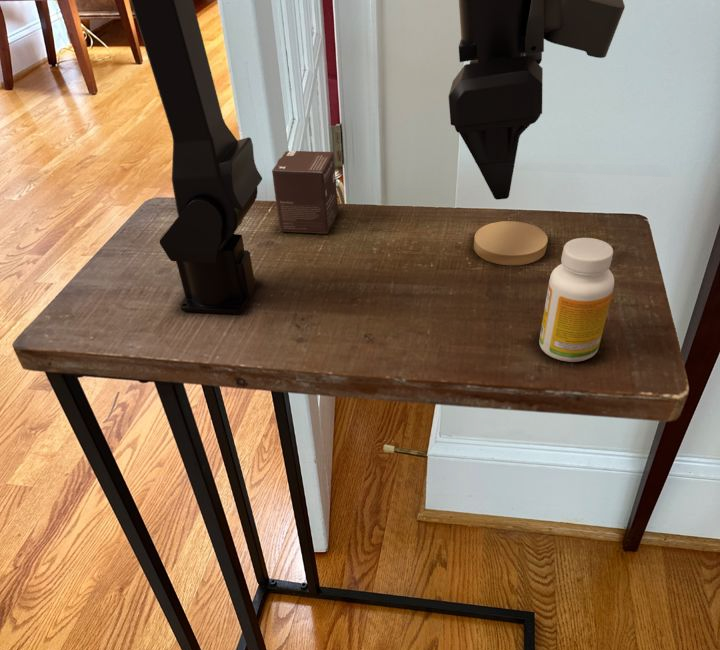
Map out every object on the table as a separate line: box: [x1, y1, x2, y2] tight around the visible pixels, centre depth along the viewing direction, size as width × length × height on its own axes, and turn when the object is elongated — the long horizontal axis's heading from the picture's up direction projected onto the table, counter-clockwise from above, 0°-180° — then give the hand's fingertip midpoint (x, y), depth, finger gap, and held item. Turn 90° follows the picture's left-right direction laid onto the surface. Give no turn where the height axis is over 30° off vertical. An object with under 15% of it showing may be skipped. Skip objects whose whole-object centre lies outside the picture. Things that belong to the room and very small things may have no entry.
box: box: [271, 150, 339, 235], centre depth 81 cm, size 6×6×7 cm
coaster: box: [473, 220, 549, 266], centre depth 76 cm, size 8×8×1 cm
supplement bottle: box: [538, 237, 615, 363], centre depth 60 cm, size 5×5×10 cm
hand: (504, 174), depth 58 cm, fingers open, 9 cm apart
